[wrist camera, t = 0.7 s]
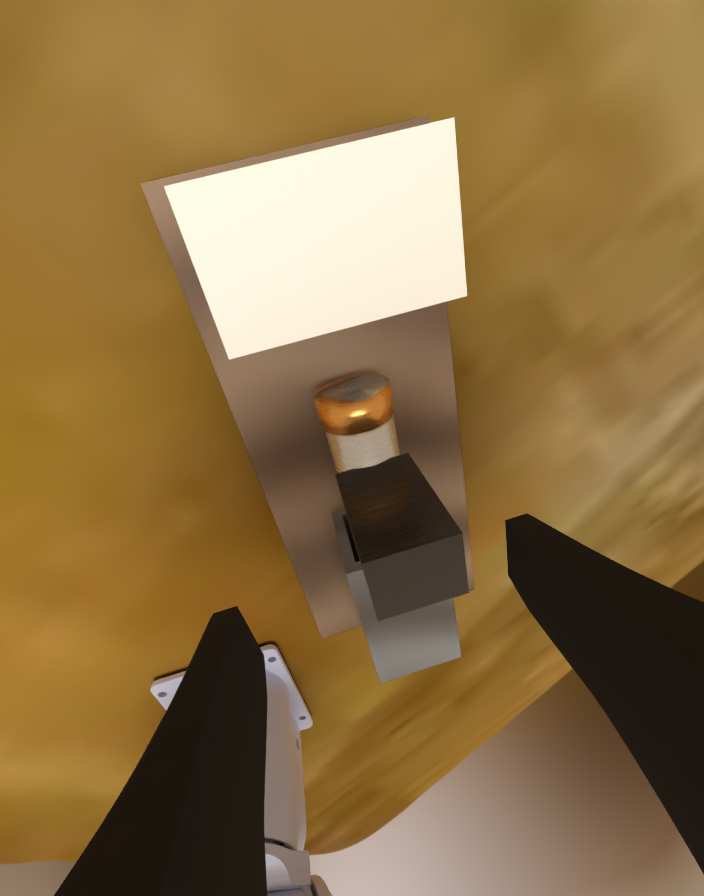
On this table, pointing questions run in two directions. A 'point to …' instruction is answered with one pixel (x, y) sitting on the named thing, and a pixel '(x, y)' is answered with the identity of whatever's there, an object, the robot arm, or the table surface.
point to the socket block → (326, 237)
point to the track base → (307, 449)
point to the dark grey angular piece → (389, 501)
